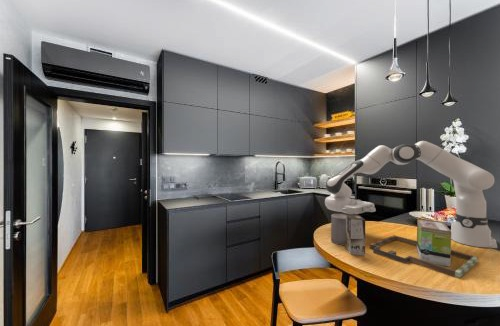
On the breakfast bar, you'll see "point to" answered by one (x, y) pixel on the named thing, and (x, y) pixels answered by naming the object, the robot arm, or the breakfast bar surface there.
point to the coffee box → (355, 234)
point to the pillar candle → (338, 229)
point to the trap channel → (392, 255)
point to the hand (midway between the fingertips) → (374, 210)
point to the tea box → (434, 242)
